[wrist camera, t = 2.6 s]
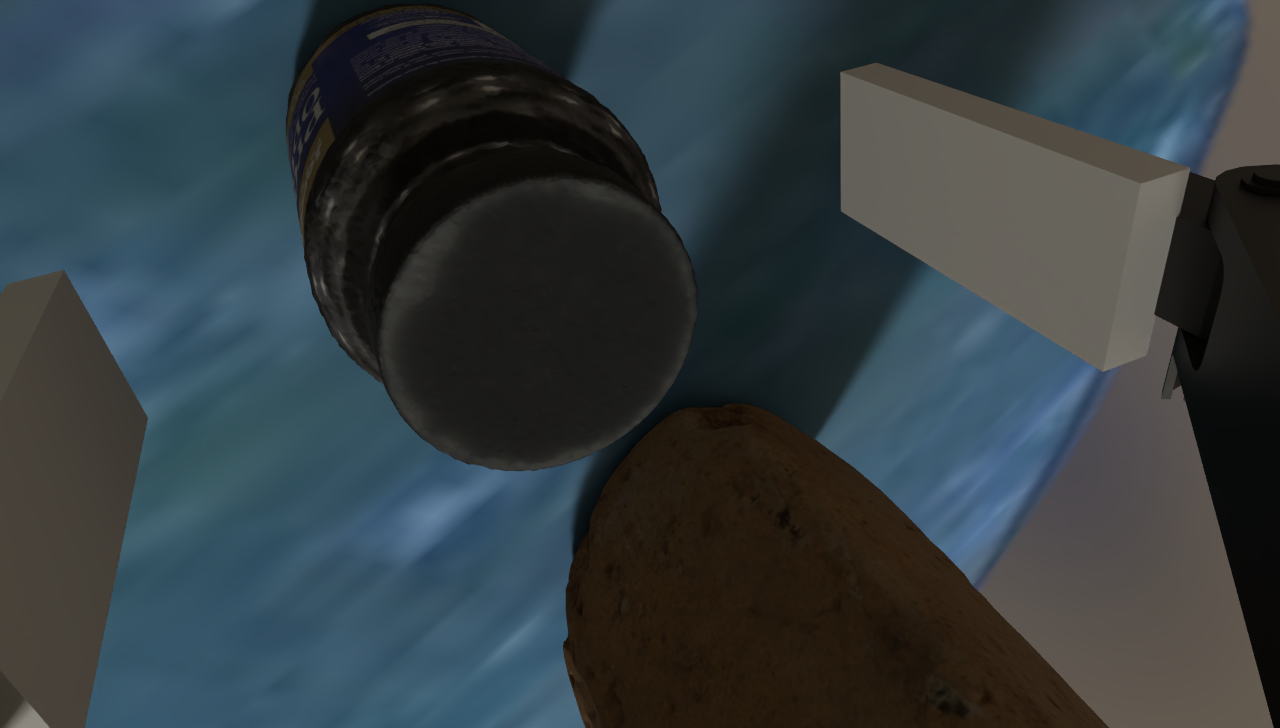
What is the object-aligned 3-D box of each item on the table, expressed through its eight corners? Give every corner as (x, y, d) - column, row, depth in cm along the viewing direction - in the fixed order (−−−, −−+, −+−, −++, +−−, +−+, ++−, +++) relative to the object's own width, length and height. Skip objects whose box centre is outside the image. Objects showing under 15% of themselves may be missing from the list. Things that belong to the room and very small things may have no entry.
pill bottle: (239, 38, 18) (230, 194, 10) (507, -30, 20) (718, 52, 11) (343, 285, 22) (408, 571, 13) (566, 213, 23) (762, 427, 14)
